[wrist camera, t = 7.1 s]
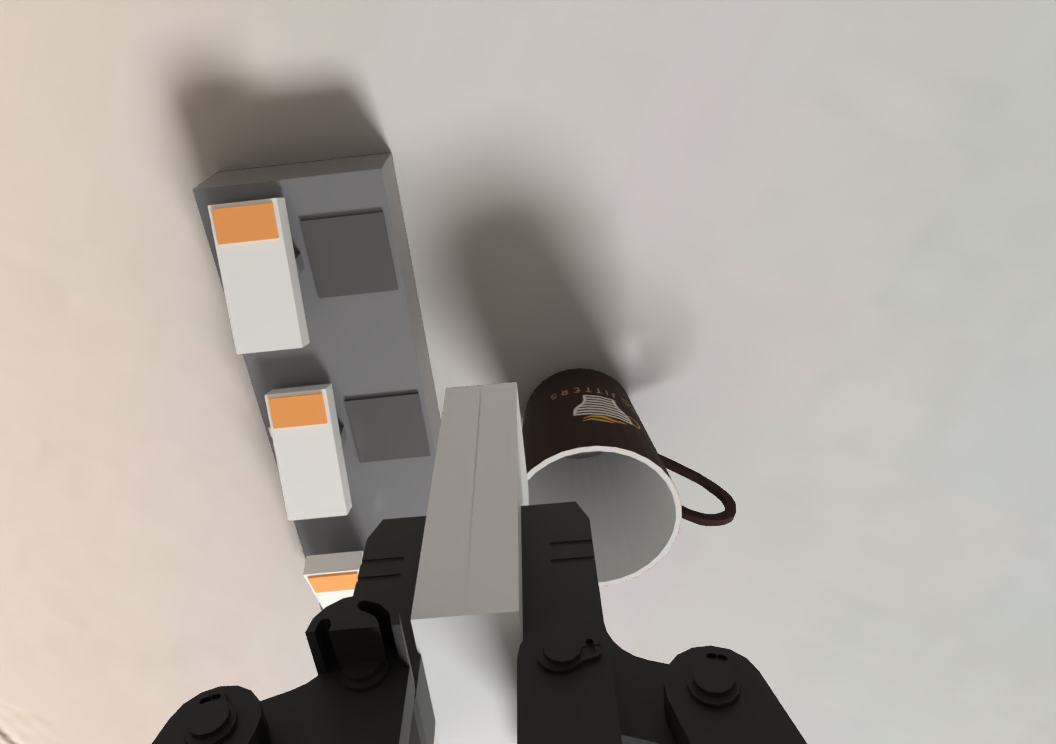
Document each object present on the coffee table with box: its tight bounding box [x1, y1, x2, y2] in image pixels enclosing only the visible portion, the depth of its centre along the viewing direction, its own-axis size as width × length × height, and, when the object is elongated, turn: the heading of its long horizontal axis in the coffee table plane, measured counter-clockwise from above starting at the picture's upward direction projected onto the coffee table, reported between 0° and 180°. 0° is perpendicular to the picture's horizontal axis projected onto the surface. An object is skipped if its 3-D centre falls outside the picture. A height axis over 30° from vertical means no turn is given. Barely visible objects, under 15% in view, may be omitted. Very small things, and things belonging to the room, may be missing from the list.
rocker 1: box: [208, 198, 310, 354], centre depth 37 cm, size 7×3×1 cm, turn 6°
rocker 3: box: [303, 551, 363, 609], centre depth 46 cm, size 7×3×1 cm, turn 6°
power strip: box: [193, 153, 441, 611], centre depth 46 cm, size 36×9×4 cm, turn 6°
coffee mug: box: [522, 369, 736, 587], centre depth 43 cm, size 12×9×10 cm
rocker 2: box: [265, 383, 352, 521], centre depth 42 cm, size 7×3×1 cm, turn 6°
